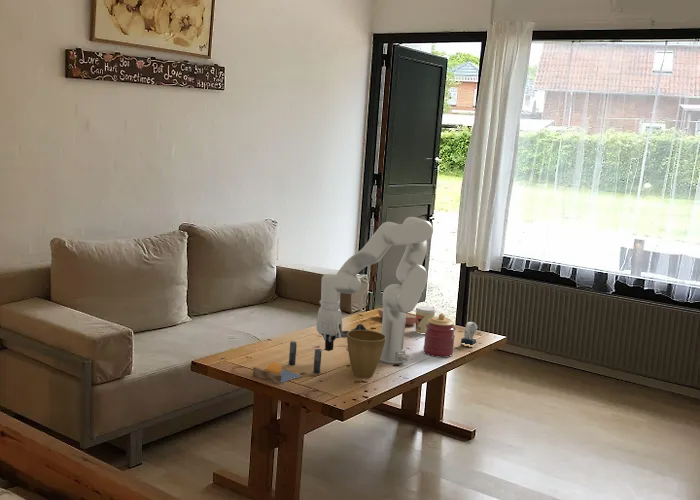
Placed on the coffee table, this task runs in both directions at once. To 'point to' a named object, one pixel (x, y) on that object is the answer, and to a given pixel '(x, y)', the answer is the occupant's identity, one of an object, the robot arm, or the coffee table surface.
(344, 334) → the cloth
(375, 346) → the plant pot
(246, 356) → the coffee table surface
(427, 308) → the coffee cup
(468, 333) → the grey upright piece
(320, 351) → the post
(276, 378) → the backstop
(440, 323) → the canister
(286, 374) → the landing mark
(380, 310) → the anatomical model
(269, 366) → the ball
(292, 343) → the post
